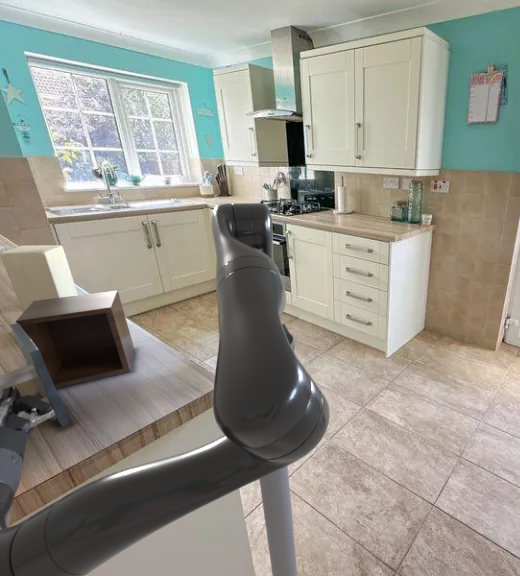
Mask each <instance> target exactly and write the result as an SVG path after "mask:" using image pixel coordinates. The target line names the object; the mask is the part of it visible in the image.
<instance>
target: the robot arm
mask: <svg viewBox="0 0 520 576" xmlns="http://www.w3.org/2000/svg"><path fill="white" fill-rule="evenodd" d="M210 223H211V224H210V225H211V226H210V227H211V233H212V238H213V239H212V240H213V244H214V250H215V251H214V252H215V257H216V258H215V260H216V261H215V263H216V265H215V266H216V267H215V290H216V303H217V304H216V305H217V320H218V321H217V322H218V326H217V327H218V348H217V355H216V356H217V357H216V363H215V364H216V366H215V371H214V372H215V373H214V381H213V392H212V410H213V416H214V419H215V422H216V425H217V427H218V428H219V430H220V431H221V432H222V434H223V435H221V436H220V437H218V438H217V439H214V440H212V441H210V442H208V443H205V444H204V445H201V446H197V447H196V448H192V449H190V450H188V451H185V452H182V453H179V454H175V455H172V456H168V457H164V458H161V459H156V460H153V461H148V462H146V463H142V464H138V465H135V466H130V467H127V468H124V469H121V470H117V471H115V472H112V473H109V474H106V475H104V476H101V477H99V478H97V479H95V480H93V481H91V482H88V483H86V484H84V485H82V486H80V487H78V488H77V489H75V490H73V491H71V492H70V493H68V494H66V495H65V496H63V497H61V498H59V499H58V500H56V501H54V502H53V503H51V504H49V505H48V506H46V507H44V508H43V509H41V510H39V511H37V512H36V513H34V514H32V515H31V516H29V517H27V518H26V519H24V520H22V521H21V522H19V523H17V524H14V525H11V526H10V523H11V522H10V521H11V517H12V511H13V506H14V505H13V504H14V499H15V496H16V494H17V491H18V489H19V487H20V482H21V478H22V472H23V468H24V461H25V456H26V455H25V454H26V449H27V442H28V438H29V436H30V435H31V434H32V433H33V431H34V429H35V427H36V426H38V425H39V424H42V423H47V424H50V423H53V422H54V421H57V417H56V415H55V412H54V410H53V408H52V406H51V404H49V403H46V402H44V401H42V400H40V399H41V398H37V397H35V396H34V395H31V394H26V395H23V396H22V394H21V393H20V390H19V389H18V388H17V387H14V388H13V386H11V387H8V388H6V389H3V391H2V393H1V394H2V398H1V402H2V403H1V406H0V576H87V575H88V574H90V573H91V572H93V571H95V570H96V569H98V568H99V567H100V566H102V565H103V564H105V563H107V562H108V561H109V560H111V559H113V558H114V557H116V556H117V555H119V554H121V553H122V552H124V551H125V550H127V549H129V548H130V547H132V546H134V545H135V544H137V543H138V542H140V541H142V540H143V539H145V538H148V537H149V536H150V535H152V534H154V533H156V532H157V531H159V530H161V529H163V528H165V527H167V526H169V525H171V524H172V523H174V522H176V521H177V520H180V519H182V518H183V517H186V516H187V515H189V514H191V513H193V512H196V511H197V510H199V509H201V508H203V507H205V506H207V505H209V504H211V503H213V502H215V501H218V500H219V499H220V498H224V497H225V496H227V495H229V494H231V493H234V492H235V491H237V490H239V489H241V488H243V487H245V486H247V485H250V484H252V483H254V482H256V481H259V479H261V478H263V477H265V476H267V475H270V474H272V473H274V472H276V471H278V470H280V469H282V468H284V467H287V466H288V467H289V466H290V465H292V464H295V463H296V462H297V461H300V460H301V459H303V458H305V457H306V456H307V455H309V454H310V453H311V452H312V451H314V449H315V448H316V447H318V445H319V443H321V441H322V440H323V438H324V436H325V434H326V432H327V430H328V427H329V424H330V416H331V412H330V405H329V403H328V399H327V398H326V396H325V394H324V393H323V392H322V390H321V389H320V387H319V386H318V384H317V382H315V381H314V379H313V378H312V376H311V375H310V374H309V372H308V371H307V369H306V367H305V366H304V365H303V364H302V362H301V361H300V360H299V359H300V358H298V356H297V354H296V352H295V353H294V351H293V349H292V347H291V343H292V342H293V341H294V336H293V334H291V333H290V331H289V329H288V328H287V326H286V324H285V323H282V319H281V318H282V317H281V316H282V315H283V313H284V311H285V310H286V309H285V308H286V304H287V295H286V287H285V285H284V281H283V278H282V275H281V272H280V269H279V267H278V266H277V265H278V264H277V263H275V261H274V240H273V239H274V230H273V229H274V228H273V219H272V213H271V211H270V208H269V207H268V205H267V204H265V203H261V202H233V203H230V202H229V203H227V202H226V203H221V204H218V205H216V206H215V207H214V208H213V210H212V214H211V221H210ZM22 411H25V413H27V414H29V415H30V416H31V418H29V419H25V418H22V417H19V413H20V412H22Z"/></svg>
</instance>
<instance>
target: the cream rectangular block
mask: <svg viewBox="0 0 520 576" xmlns="http://www.w3.org/2000/svg"><path fill="white" fill-rule="evenodd" d="M0 259H1V261H2V263H3V266H4V269H5V271H6V274H7V276H8V279H9V281H10V284H11V286H12V288H13V291H14V293H15V297H16V298H17V302H18V304H19V306H20V309H21V311H22V313H23V312H24V311H25V310H26V309H27V308H28V307H29V306H30V304H31V303H32V302H33V301H37V300H45V299H53V298H61V297H69V296H77V295H79V294H78V291H77V290H78V289H77V287H76V283H75V281H74V278H73V274H72V272H71V268H70V265H69V262H68V259H67V256H66V252H65V250H64V247H63V245H55V244H54V245H51V244H50V245H49V244H48V245H44V244H43V245H19V246H16V247H14V248H10V249H7V250H5V251H2V252H0Z"/></svg>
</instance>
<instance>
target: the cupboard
mask: <svg viewBox="0 0 520 576" xmlns="http://www.w3.org/2000/svg"><path fill="white" fill-rule="evenodd" d="M15 323H19V325H20V326H21V327H22V328H23V330H24V331H25V332H26V334H27V335H28V336H29V338H30V339H31V340H32V341H33V343H34V344H35V345H36V347H37V348H38V349H39V351H40V353H41V356H42V358H43V361H44V363H45V365H46V368H47V370H48V372H49V375H50V377H51V380H52V382H53V384H54V387H55V389H58V388H63V387H67V386H68V387H69V386H72V385H76V384H77V385H78V384H81V383H84V382H85V383H86V382H89V381H94V380H98V379H103V378H108V377H112V376H117V375H122V374H127V373H130V372H131V370H132V365H133V360H134V357H135V356H134V355H135V349H136V348H135V345H134V342H133V339H132V335H131V332H130V327H129V324H128V322H127V317H126V314H125V311H124V308H123V304H122V300H121V298H120V293H119V291H118V290H110V291H102V292H93V293H86V294H78V295H77V296H69V297H61V298H53V299H45V300H37V301H33V302H32V303H31V304H30V306H29V307H28V308H27V309H26V310H25V311H24V312H23V311H22V313H21V314H20V315H19V317H18V318H17V319H16V320H15Z"/></svg>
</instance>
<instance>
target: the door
mask: <svg viewBox="0 0 520 576" xmlns="http://www.w3.org/2000/svg"><path fill="white" fill-rule="evenodd" d="M9 326H10V329H11V331H12V334H13V336H14V337H15V340H16V342H17V345H18V347H19V349H20V351H21V353H22V356H23V358H24V361H25V362H26V364H27V365H26V366H24V367H21V368H17V369H15V370H12V371H9V372H6V373H3V374H0V406H1V403H2V402H1V398H2V394H3V393H2V392H1V391H2V390H3V391H4V389H6V388H8V387H11V386H12V387H14V386H16V385H19V384H23V383H26V382H29V381H31V380H33V381H34V383H35V385H36V387H37V389H38V391H39V393H40V396H41V397H42V398H39V399H40V400H42V401H44V402H46V403H49V404H51V406H52V408H53V410H54V412H55V415H56V417H57V418H56V421H58V423H59V425H60V426H61V427H62V428H64V427H66V426H68V425H70V423H71V422H70V420H69V418H68V415H67V413H66V411H65V408H64V406H63V403H62V401H61V399H60V396H59V394H58V391H57V390H56V389H57V388H55V387H54V384H53V382H52V380H51V377H50V375H49V372H48V370H47V368H46V365H45V363H44V361H43V358H42V356H41V353H40V351H39V349H38V348H37V347H36V345H35V344H34V343H33V341H32V340H31V339H30V338H29V336H28V335H27V334H26V332H25V331H24V330H23V328H22V327H21V326H20V325H19V323H16V322H15V323H12V324H9ZM19 417H22V418H25V419H30V418H31V416H30V415H29V414H27V413H25V411H22V412H20V413H19Z"/></svg>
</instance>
